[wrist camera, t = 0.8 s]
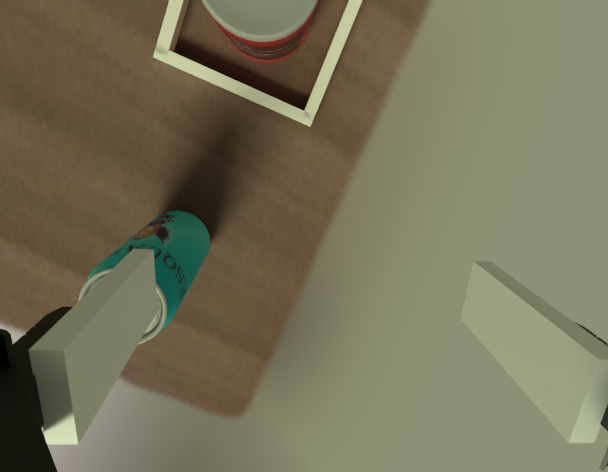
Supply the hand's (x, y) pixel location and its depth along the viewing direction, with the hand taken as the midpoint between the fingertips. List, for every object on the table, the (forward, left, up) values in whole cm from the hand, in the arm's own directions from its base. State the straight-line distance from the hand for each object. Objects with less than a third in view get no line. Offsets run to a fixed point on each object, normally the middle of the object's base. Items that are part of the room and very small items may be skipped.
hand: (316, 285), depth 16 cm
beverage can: (+1, -12, -22) cm, 25 cm away
